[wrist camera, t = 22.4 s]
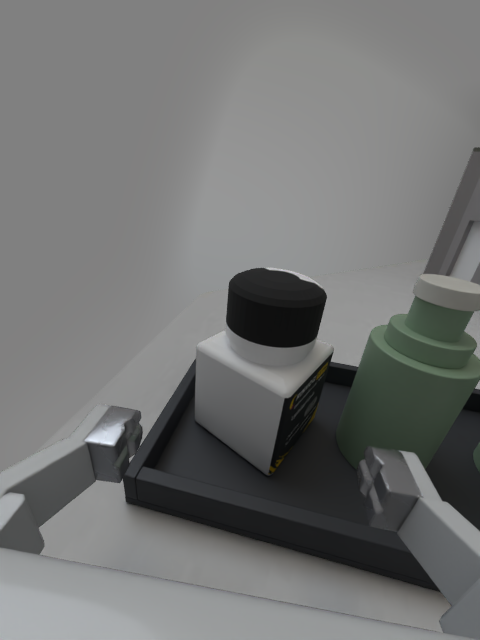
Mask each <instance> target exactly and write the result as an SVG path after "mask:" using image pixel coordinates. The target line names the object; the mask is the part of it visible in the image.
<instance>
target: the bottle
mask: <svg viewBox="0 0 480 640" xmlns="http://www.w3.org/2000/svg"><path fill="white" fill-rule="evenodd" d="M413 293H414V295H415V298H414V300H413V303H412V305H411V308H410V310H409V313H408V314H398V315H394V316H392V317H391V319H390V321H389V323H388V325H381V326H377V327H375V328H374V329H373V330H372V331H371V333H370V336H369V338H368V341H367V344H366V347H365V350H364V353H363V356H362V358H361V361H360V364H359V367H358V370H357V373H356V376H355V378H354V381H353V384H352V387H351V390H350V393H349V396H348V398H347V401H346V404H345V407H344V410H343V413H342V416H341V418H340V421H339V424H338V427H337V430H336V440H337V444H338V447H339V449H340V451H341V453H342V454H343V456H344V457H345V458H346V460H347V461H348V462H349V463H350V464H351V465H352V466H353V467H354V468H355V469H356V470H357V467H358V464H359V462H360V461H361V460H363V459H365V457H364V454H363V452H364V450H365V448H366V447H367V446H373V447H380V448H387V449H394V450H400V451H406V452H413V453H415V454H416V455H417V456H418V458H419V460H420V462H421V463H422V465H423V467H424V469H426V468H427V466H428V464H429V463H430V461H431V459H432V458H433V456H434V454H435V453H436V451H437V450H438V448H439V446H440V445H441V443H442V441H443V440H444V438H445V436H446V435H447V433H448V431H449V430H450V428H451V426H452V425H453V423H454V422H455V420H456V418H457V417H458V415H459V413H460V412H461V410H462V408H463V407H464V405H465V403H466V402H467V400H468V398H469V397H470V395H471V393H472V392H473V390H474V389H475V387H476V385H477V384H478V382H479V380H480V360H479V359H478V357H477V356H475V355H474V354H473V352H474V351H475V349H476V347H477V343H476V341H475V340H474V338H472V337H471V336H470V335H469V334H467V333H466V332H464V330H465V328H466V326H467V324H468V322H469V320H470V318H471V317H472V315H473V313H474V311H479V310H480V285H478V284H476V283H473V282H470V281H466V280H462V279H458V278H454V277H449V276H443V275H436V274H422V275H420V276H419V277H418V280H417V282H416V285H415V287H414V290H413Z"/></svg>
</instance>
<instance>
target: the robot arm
mask: <svg viewBox="0 0 480 640" xmlns="http://www.w3.org/2000/svg"><path fill="white" fill-rule="evenodd" d="M140 419H141V412H140V411H138V410H133V409H128V408H122V407H117V406H110V405H105V404H98V405H96V406H95V407H94V408H93V409H92V410H91V412H90V413H89V414H88V415H87V416H86V418H85V419H84V420H83V421H82V422H81V424H80V425H79V426H78V427H77V428H76V430H75V431H74V432H73V433H72V434H71V436H70V437H69V438H68V439H62V440H60V441H58V442H56V443H54V444H53V445H51V446H49V447H47V448H45V449H43V450H41V451H39V452H38V453H36V454H34V455H32V456H30V457H28V458H27V459H24V460H23V461H21V462H19V463H17V464H15V465H13V466H11V467H9V468H7V469H6V470H4V471H2V472H0V640H480V531H479V530H478V529H477V528H476V527H475V526H473V525H472V524H471V523H470V522H469V521H468V520H467V519H466V518H464V517H463V516H462V515H461V514H460V513H459V512H458V511H457V510H455V509H454V508H453V507H452V506H451V505H450V504H449V503H448V502H443V501H442V500H441V498H440V496H439V494H438V492H437V491H436V489H435V487H434V485H433V483H432V482H431V480H430V478H429V476H428V474H427V472H426V471H425V469H424V467H423V465H422V463H421V462H420V460H419V458H418V456H417V455H416V454H415V453H413V452H406V451H400V450H394V449H387V448H380V447H373V446H367V447H366V448H365V450H364V452H363V454H364V457H365V459H363V460H361V461H360V462H359V464H358V467H357V483H358V487H359V491H360V492H361V493H362V494H363V495H364V497H365V498H366V500H365V502H364V508H365V512H366V515H367V518H368V522H369V525H370V527H375V528H380V529H385V530H390V531H395V532H397V534H398V536H399V537H400V538H401V540H402V541H403V542H404V544H405V545H406V546H407V548H408V549H409V550H410V551H411V553H412V554H413V555H414V557H415V558H416V559H417V561H418V562H419V563H420V565H421V566H422V567H423V569H424V570H425V571H426V573H427V574H428V575H429V577H430V578H431V579H432V581H433V582H434V583H435V585H436V586H437V587H438V589H439V590H440V591H441V592H442V594H443V595H444V596H445V598H446V599H447V600H448V602H449V603H450V604H451V607H450V608H449V609H448V610H447V611H446V612H445V613H444V614H443V615H442V617H441V619H440V621H439V622H440V625H441V628H442V630H443V633H442V632H436V631H431V630H426V629H421V628H416V627H411V626H405V625H400V624H395V623H390V622H385V621H380V620H374V619H369V618H364V617H359V616H354V615H349V614H343V613H338V612H333V611H328V610H323V609H317V608H312V607H307V606H302V605H297V604H292V603H286V602H281V601H276V600H271V599H266V598H261V597H255V596H250V595H245V594H240V593H235V592H230V591H224V590H219V589H214V588H209V587H204V586H199V585H193V584H188V583H183V582H178V581H173V580H167V579H162V578H157V577H152V576H147V575H142V574H136V573H131V572H126V571H121V570H116V569H110V568H105V567H100V566H95V565H90V564H84V563H79V562H74V561H69V560H64V559H58V558H53V557H48V556H43V555H39V554H40V553H41V551H42V550H43V548H44V540H43V538H42V535H41V533H40V531H39V527H40V526H41V525H43V524H44V523H45V522H46V521H47V520H49V519H50V518H51V517H52V516H54V515H55V514H56V513H57V512H59V511H60V510H61V509H62V508H63V507H65V506H66V505H67V504H68V503H70V502H71V501H72V500H73V499H75V498H76V497H77V496H78V495H79V494H81V493H82V492H83V491H84V490H86V489H87V488H88V487H89V486H91V485H92V484H93V483H94V482H95V481H96V480H101V481H108V482H115V483H120V482H121V481H122V479H123V477H124V475H125V473H126V471H127V469H128V467H129V465H130V464H129V458H130V457H132V456H133V455H135V454H136V452H137V450H138V448H139V446H140V442H141V439H142V426H141V425H140V424H139V421H140Z"/></svg>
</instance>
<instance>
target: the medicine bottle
mask: <svg viewBox="0 0 480 640" xmlns="http://www.w3.org/2000/svg"><path fill="white" fill-rule="evenodd" d="M326 299H327V295H326V293H325V291H324V289H323V287H322V286H321V285H320V284H318V283H317V282H315V281H314V280H312V279H311V278H309V277H307V276H305V275H303V274H300V273H297V272H293V271H289V270H284V269H275V268H256V269H251V270H247V271H244V272H241V273H238V274H237V275H235V276H234V277H233V278H232V279H231V281H230V282H229V290H228V303H227V316H226V329H225V330H224V331H222V332H220V333H218V334H216V335H214V336H212V337H210V338H208V339H206V340H204V341H202V342H200V343H199V344H197V347H196V382H195V421H196V422H197V423H199V424H200V425H201V426H202V427H204V428H205V429H206V430H208V431H209V432H210V433H212V434H213V435H214V436H216V437H217V438H218V439H220V440H221V441H222V442H223V443H225V444H226V445H227V446H229V447H230V448H231V449H233V450H234V451H235V452H237V453H238V454H239V455H240V456H242V457H243V458H244V459H246V460H247V461H248V462H250V463H251V464H252V465H254V466H255V467H256V468H257V469H259V470H260V471H261V472H263V473H264V474H265V475H268V476H270V475H272V474H273V472H274V471H275V470H276V468H277V467H278V466H279V464H280V463H281V462H282V460H283V459H284V458H285V456H286V455H287V454H288V452H289V451H290V449H291V448H292V447H293V445H294V444H295V443H296V441H297V440H298V439H299V437H300V436H301V435H302V433H303V432H304V431H305V429H306V428H307V426H308V425H309V424H310V422H311V421H312V420H313V418H314V417H315V413H316V410H317V406H318V403H319V399H320V396H321V393H322V389H323V386H324V382H325V379H326V375H327V372H328V368H329V365H330V362H331V358H332V355H333V351H334V348H333V347H332V345H330V344H327V343H325V342H323V341H320V340H318V339H316V338H317V334H318V330H319V326H320V322H321V319H322V315H323V311H324V307H325V303H326Z"/></svg>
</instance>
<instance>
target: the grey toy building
mask: <svg viewBox="0 0 480 640" xmlns="http://www.w3.org/2000/svg"><path fill="white" fill-rule="evenodd" d="M423 274H436V275H443V276H449V277H454V278H458V279H462V280H466V281H470V282H473V283H476V284H478V285H480V148H474V149H473V152H472V154H471V156H470V159H469V161H468V164H467V166H466V169H465V171H464V174H463V176H462V179H461V182H460V184H459V186H458V189H457V191H456V194H455V196H454V199H453V201H452V204H451V207H450V209H449V211H448V214H447V216H446V218H445V221H444V223H443V226H442V228H441V231H440V234H439V236H438V238H437V241H436V243H435V246H434V248H433V251H432V253H431V256H430V258H429V261H428V263H427V265H426V268H425V270H424V273H423Z"/></svg>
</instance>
